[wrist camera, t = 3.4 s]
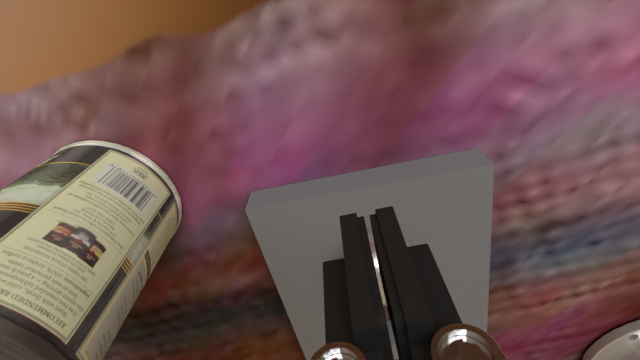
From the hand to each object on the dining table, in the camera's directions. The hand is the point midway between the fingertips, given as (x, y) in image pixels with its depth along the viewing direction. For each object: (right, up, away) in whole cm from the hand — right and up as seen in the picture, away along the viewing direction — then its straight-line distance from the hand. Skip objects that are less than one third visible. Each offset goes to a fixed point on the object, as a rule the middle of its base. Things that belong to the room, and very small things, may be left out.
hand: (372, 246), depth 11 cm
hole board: (+4, -6, +19) cm, 20 cm away
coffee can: (-18, +1, +16) cm, 24 cm away
